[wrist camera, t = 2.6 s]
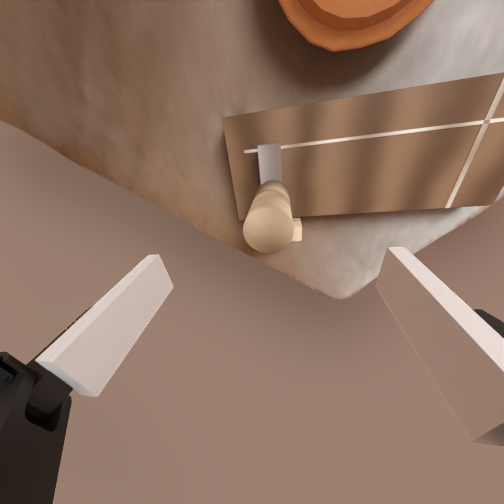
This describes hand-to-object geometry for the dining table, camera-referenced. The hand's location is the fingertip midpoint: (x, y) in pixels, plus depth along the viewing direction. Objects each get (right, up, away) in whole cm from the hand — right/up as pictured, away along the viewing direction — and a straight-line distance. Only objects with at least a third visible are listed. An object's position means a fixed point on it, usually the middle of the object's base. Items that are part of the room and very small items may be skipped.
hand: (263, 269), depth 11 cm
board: (+12, +13, +12) cm, 21 cm away
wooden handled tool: (+2, +10, +15) cm, 18 cm away
